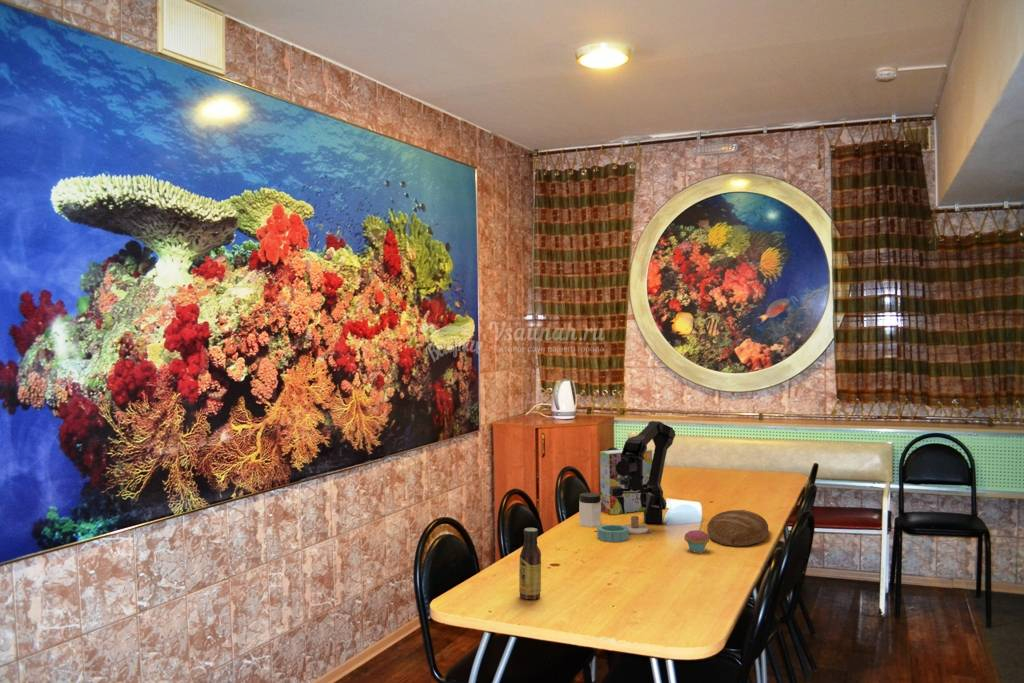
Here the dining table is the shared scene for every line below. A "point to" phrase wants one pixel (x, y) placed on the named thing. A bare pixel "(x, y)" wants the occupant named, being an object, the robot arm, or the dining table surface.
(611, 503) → the snack box
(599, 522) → the jar
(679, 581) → the dining table surface
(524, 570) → the sauce bottle
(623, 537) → the bowl
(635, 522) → the lid
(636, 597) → the dining table surface
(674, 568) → the dining table surface
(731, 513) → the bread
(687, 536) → the cupcake
